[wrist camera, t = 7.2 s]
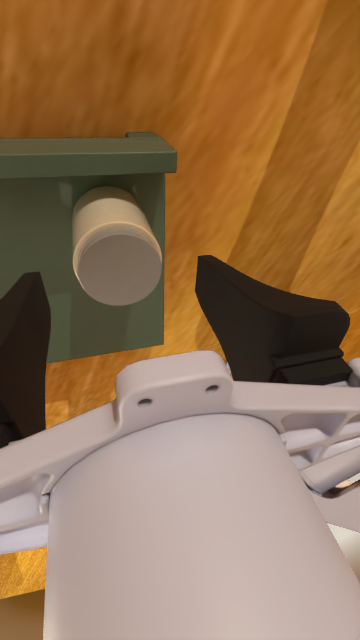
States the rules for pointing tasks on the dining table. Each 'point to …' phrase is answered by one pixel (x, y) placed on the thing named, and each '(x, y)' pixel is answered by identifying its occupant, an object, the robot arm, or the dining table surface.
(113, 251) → the salt shaker
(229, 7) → the dining table surface
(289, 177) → the dining table surface
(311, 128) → the dining table surface
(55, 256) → the shelf
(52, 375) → the dining table surface
